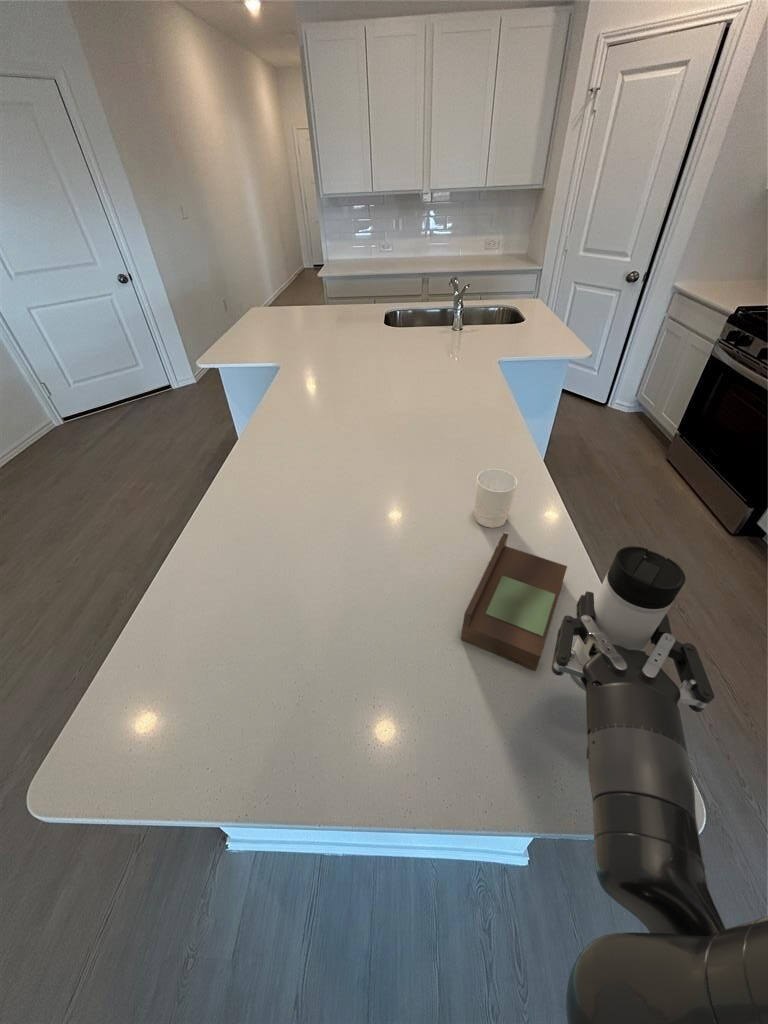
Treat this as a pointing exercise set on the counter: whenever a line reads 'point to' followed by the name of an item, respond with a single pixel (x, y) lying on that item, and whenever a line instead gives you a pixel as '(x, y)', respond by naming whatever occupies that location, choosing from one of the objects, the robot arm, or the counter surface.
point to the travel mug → (634, 599)
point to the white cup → (494, 497)
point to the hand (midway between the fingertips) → (619, 603)
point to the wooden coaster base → (514, 605)
